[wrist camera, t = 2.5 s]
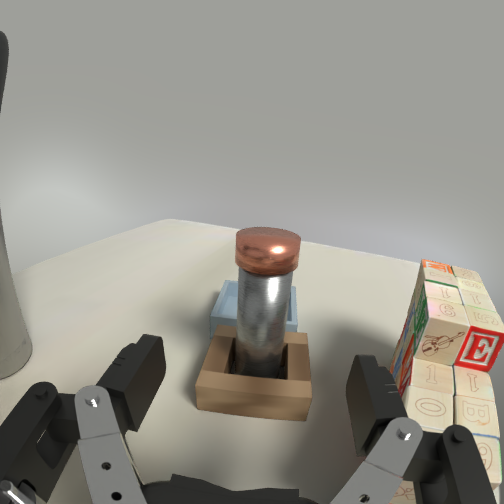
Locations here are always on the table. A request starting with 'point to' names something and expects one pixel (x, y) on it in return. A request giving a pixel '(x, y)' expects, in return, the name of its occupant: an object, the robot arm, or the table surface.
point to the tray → (227, 308)
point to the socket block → (255, 381)
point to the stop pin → (263, 298)
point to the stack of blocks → (450, 361)
